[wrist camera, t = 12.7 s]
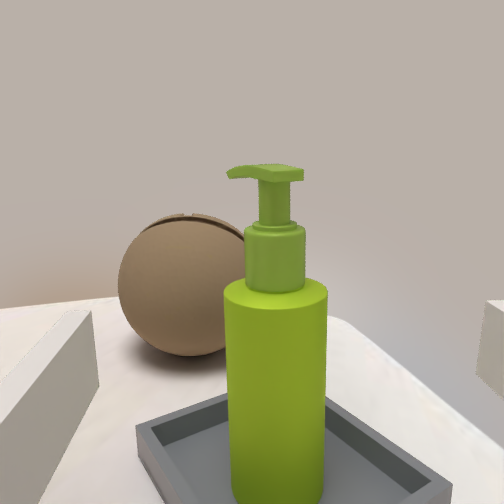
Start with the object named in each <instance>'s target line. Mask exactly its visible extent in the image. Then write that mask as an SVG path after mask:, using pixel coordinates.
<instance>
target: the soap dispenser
mask: <svg viewBox="0 0 504 504" xmlns="http://www.w3.org/2000/svg"><path fill="white" fill-rule="evenodd" d="M226 173H227V175H228V178H229V179H234V178H249V177H250V178H254V179H258V187H259V221H256V222H254V223H253V225H252V226H249V227H247V228H245V230H244V251H245V278H243V279H240V280H237V281H234V282H232V283H230V284H229V285H228V286H226V288H225V289H224V318H225V343H226V368H227V393H228V417H229V442H230V467H231V488H232V492H233V495H234V497H235V499H236V500H237V502H238V503H239V504H317V503H318V502H319V500H320V498H321V496H322V493H323V479H324V434H325V389H326V344H327V298H328V297H327V296H328V291H327V289H326V287H325V286H324V285H323V284H321V283H319V282H317V281H315V280H312V279H309V278H305V242H306V235H305V234H306V233H305V228H304V227H302V226H300V225H297V223H296V222H294V221H291V220H290V182H292V181H303V180H304V179H303V178H304V177H303V176H304V170H303V169H300V168H296V167H292V166H287V165H281V164H260V165H243V166H238V167H234V168H232V169H230V170H228V171H227V172H226Z"/></svg>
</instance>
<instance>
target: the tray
mask: <svg viewBox="0 0 504 504" xmlns="http://www.w3.org/2000/svg"><path fill="white" fill-rule="evenodd" d="M136 437H137V448H138V456H139V458H140V460H141V462H142V463H143V465H144V467H145V469H146V471H147V472H148V474H149V476H150V478H151V479H152V481H153V483H154V485H155V487H156V488H157V490H158V492H159V494H160V496H161V497H162V499H163V501H164V503H165V504H239V503H238V502H237V500H236V499H235V497H234V495H233V492H232V488H231V467H230V442H229V417H228V393H225V394H223V395H220V396H217V397H214V398H211V399H209V400H206V401H203V402H200V403H197V404H195V405H192V406H189V407H186V408H183V409H181V410H178V411H175V412H172V413H169V414H167V415H164V416H161V417H158V418H155V419H153V420H150V421H147V422H144V423H141V424H139V425H136ZM452 486H453V484H452V483H451V482H449V481H448V480H446V479H445V478H443V477H442V476H441V475H439V474H438V473H436V472H435V471H433V470H432V469H430V468H429V467H427V466H426V465H425V464H423V463H422V462H420V461H419V460H417V459H416V458H414V457H413V456H412V455H410V454H409V453H407V452H406V451H404V450H403V449H401V448H400V447H398V446H397V445H396V444H394V443H393V442H391V441H390V440H388V439H387V438H385V437H384V436H383V435H381V434H380V433H378V432H377V431H375V430H374V429H372V428H371V427H369V426H368V425H367V424H365V423H364V422H362V421H361V420H359V419H358V418H356V417H355V416H354V415H352V414H351V413H349V412H348V411H346V410H345V409H343V408H342V407H340V406H339V405H338V404H336V403H335V402H333V401H332V400H330V399H329V398H327V397H326V396H325V434H324V479H323V493H322V496H321V498H320V500H319V502H318V503H317V504H451V495H452Z"/></svg>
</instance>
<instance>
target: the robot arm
mask: <svg viewBox="0 0 504 504" xmlns="http://www.w3.org/2000/svg"><path fill="white" fill-rule="evenodd" d="M476 375H478V376H479V377H480V378H481V379H482V380H483V381H484V382H485V383H486V384H487V385H488V386H489V387H490V388H491V389H492V390H493V391H494V392H496V394H497V395H499V396H500V397H501V398H502V399H503V400H504V300H488V301H486V302H485V310H484V317H483V324H482V331H481V339H480V346H479V353H478V360H477V368H476ZM98 388H99V379H98V370H97V360H96V351H95V341H94V332H93V323H92V313H91V310H84V311H67V312H66V313H65V314H64V315H63V316H62V317H61V318H60V319H59V320H58V321H57V322H56V323H55V324H54V325H53V327H52V328H51V329H50V330H49V331H48V332H47V333H46V334H45V335H44V336H43V337H42V338H41V339H40V340H39V342H38V343H37V344H36V345H35V346H34V347H33V348H32V349H31V350H30V351H29V352H28V353H27V354H26V355H25V356H24V358H23V359H22V360H21V361H20V362H19V363H18V364H17V365H16V366H15V367H14V368H13V369H12V370H11V371H10V373H9V374H8V375H7V376H6V377H5V378H4V379H3V380H2V381H1V382H0V504H38V503H39V501H40V499H41V497H42V495H43V493H44V491H45V489H46V487H47V485H48V483H49V481H50V480H51V478H52V476H53V474H54V472H55V470H56V468H57V466H58V464H59V462H60V460H61V458H62V457H63V455H64V453H65V451H66V449H67V447H68V445H69V443H70V441H71V439H72V437H73V435H74V434H75V432H76V430H77V428H78V426H79V424H80V422H81V420H82V418H83V416H84V414H85V412H86V411H87V409H88V407H89V405H90V403H91V401H92V399H93V397H94V395H95V393H96V391H97V389H98Z"/></svg>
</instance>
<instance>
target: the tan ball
mask: <svg viewBox="0 0 504 504" xmlns="http://www.w3.org/2000/svg"><path fill="white" fill-rule="evenodd" d="M118 277H119V278H118V293H119V299H120V304H121V307H122V310H123V312H124V314H125V316H126V319H127V321H128V322H129V324H130V325H131V327H132V328H133V329H134V330H135V332H136V333H137V334H138V335H139V336H140V337H141V338H142V339H144V340H145V341H146V342H147V343H149V344H150V345H152V346H154V347H155V348H157V349H159V350H162V351H164V352H167V353H170V354H174V355H180V356H200V355H206V354H209V353H213V352H216V351H218V350H220V349H222V348H224V347H226V343H225V318H224V289H225V288H226V286H228V285H229V284H230V283H232V282H234V281H237V280H240V279H243V278H245V251H244V234H242V233H241V232H240V231H239V230H238V229H236V228H235V227H234V226H232V225H230V224H229V223H227V222H225V221H222V220H220V219H217V218H215V217H211V216H207V215H202V214H194V213H193V214H192V216H186V215H185V216H184V214H176V215H171V216H167V217H164V218H162V219H159V220H157V221H156V222H154V223H152V224H151V225H149V226H148V227H146V228H145V229H144V230H143V231H142V232H141V233H140V234H139V235H138V236H137V238H135V239H134V240H133V242H132V243H131V244H130V246H129V247H128V249H127V251H126V253H125V255H124V257H123V260H122V263H121V266H120V270H119V276H118Z"/></svg>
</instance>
